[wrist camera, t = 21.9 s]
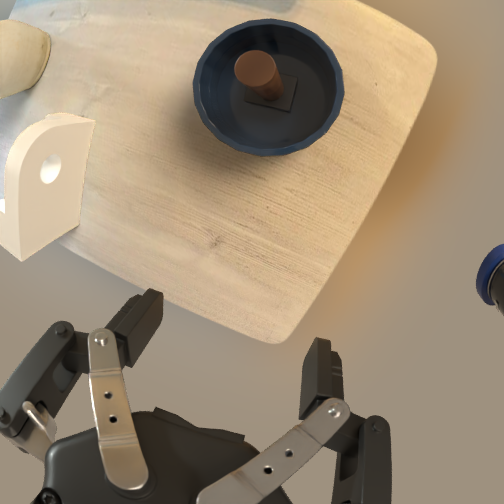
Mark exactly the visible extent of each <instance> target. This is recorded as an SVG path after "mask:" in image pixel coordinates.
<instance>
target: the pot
mask: <svg viewBox="0 0 504 504" xmlns="http://www.w3.org/2000/svg"><path fill="white" fill-rule="evenodd" d="M253 50H259V51H263V52H265V53H267V54H269V55H270V56H271V57H272V58H273V60H274V62H275V64H276V67H277V70H278V72H279V73H281V74H286V75H290V76H294V77H298V84H297V88H296V92H295V96H294V100H293V104H292V107H291V111H290V113H289V112H285V111H281V110H277V109H273V108H268V107H264V106H259V105H255V104H250V103H247V102H245V101H244V96H245V92H246V88H247V86H245V85H244V84H243V83H241V82H240V81H239V80H238V78H237V77H236V75H235V64H236V61H237V60H238V58H239V57H240V56H241V55H242V54H244V53H246V52H248V51H253ZM193 93H194V103H195V106H196V108H197V110H198V113H199V115H200V117H201V119H202V122H203V123H204V125H205V126H206V127H207V128H208V129H209V130H210V131H211V132H212V133H213V134H214V135H215V136H216V138H217V139H219V140H220V141H222V142H223V143H225V144H227V145H229V146H230V147H232V148H234V149H235V150H237V151H240V152H245V153H249V154H253V155H257V156H280V155H287V154H290V153H293V152H295V151H298V150H301V149H304V148H307V147H308V146H310V145H311V144H312V143H314V142H315V141H316V140H318V139H319V138H321V137H322V136H323V135H325V134H326V133H327V131H328V130H329V128H330V127H331V125H332V124H333V123H334V121H335V120H336V118H337V117H338V115H339V113H340V109H341V105H342V101H343V98H344V81H343V72H342V69H341V67H340V65H339V62H338V60H337V58H336V56H335V54H334V52H333V51H332V49H331V48H330V47H329V46H328V45H327V44H326V43H325V42H324V41H323V40H322V39H321V38H320V37H319V36H318V35H317V34H315V33H314V32H312V31H310V30H308V29H306V28H304V27H302V26H300V25H298V24H296V23H293V22H288V21H283V20H277V19H260V20H251V21H247V22H244V23H242V24H239V25H237V26H234V27H232V28H230V29H227V30H226V31H225V32H223V33H222V34H221V35H220V36H218V37H217V38H216V39H215V40H214V41H212V42H211V43H210V44H209V45H208V47H207V48H206V50H205V52H204V53H203V55H202V56H201V58H200V59H199V61H198V63H197V67H196V71H195V75H194V79H193Z"/></svg>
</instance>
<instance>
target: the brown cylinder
mask: <svg viewBox="0 0 504 504" xmlns="http://www.w3.org/2000/svg"><path fill="white" fill-rule="evenodd" d="M235 75H236V77H237V78H238V80H239V81H240V82H241V83H243V84H244V85H245V86H247V88H246V92H245V96H244V101H245V102H247V103H250V104H255V105H259V106H264V107H268V108H273V109H277V110H281V111H285V112H289V113H290V111H291V107H292V104H293V100H294V96H295V92H296V88H297V84H298V77H294V76H290V75H286V74H281V73H279V72H278V70H277V67H276V64H275V62H274V60H273V58H272V57H271V56H270V55H269V54H267V53H265V52H263V51H259V50H253V51H248V52H246V53H244V54H242V55H241V56H240V57H239V58H238V60H237V61H236V64H235Z"/></svg>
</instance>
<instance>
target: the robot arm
mask: <svg viewBox="0 0 504 504" xmlns="http://www.w3.org/2000/svg"><path fill="white" fill-rule="evenodd" d="M487 295H488V297H489V298H490V299H491V300H492V301H493V302H494V304H495V305H496V308H497V310H498V311H499V310H500V312H501V313H502V314H503V316H504V258H503V259H502V260H501V261H499V262H498V264H497V265H496V266H495V267H494V269H493V270H492V272H491V274H490V276H489V279H488V282H487ZM162 317H163V293H162V292H159V291H156V290H153V289H151V288H149V289H148V290H147V291H146V292H145V293H144V294H143V296H141V295H139V294H137V295H135V296H134V297H132V298H130V299H129V300H128V301H127V302H126V304H125V305H124V306H123V307H122V308H121V310H120V311H118V313H117V314H116V315H115V316H114V317H113V318H112V320H111V321H110V322H109V323H108V324H107V325H106V327H105V328H99V329H95V330H93V331H92V332H91V333H83V332H77V331H74V327H73V326H72V324H70V323H69V322H66V321H59V322H56V323H54V324H53V325H52V326H51V327H50V328H49V329H48V330H47V331H46V333H45V334H44V335H43V336H42V337H41V338H40V340H39V341H38V342H37V343H36V344H35V346H34V347H33V348H32V349H31V351H30V352H29V353H28V354H27V355H26V357H25V358H24V359H23V361H22V362H21V363H20V364H19V366H18V367H17V368H16V369H15V371H14V372H13V373H12V375H11V376H10V377H9V379H8V380H7V382H6V383H5V384H4V386H3V387H2V388H1V390H0V433H1V434H2V435H3V436H4V437H5V438H6V439H8V440H9V441H10V442H11V443H12V444H13V445H15V446H16V447H18V448H19V449H20V450H21V451H23V452H24V453H28V454H31V455H32V456H34V457H35V458H37V459H38V460H40V461H41V462H42V463H44V465H45V477H44V484H43V487H42V490H41V492H40V493H39V494H38V495H37V497H36V498H35V499H34V500H33V501H32V502H31V503H30V504H293V503H292V502H291V501H290V499H289V497H288V496H287V494H286V493H285V491H284V490H283V488H282V486H281V484H282V483H284V482H285V481H286V480H287V479H289V478H290V477H291V476H292V475H293V474H294V473H295V472H297V471H298V469H300V468H301V467H302V466H303V465H304V464H305V463H306V462H308V461H309V459H311V458H312V457H313V456H314V455H315V454H316V453H317V452H318V451H319V450H320V449H321V448H322V447H323V446H324V447H327V448H329V449H331V450H334V451H336V452H337V459H336V470H335V479H334V487H333V495H332V502H331V504H391V492H392V462H391V437H390V426H389V424H388V422H387V421H386V420H385V419H384V418H383V417H381V416H376V415H374V416H370V417H369V418H367V419H365V418H363V417H360V416H358V415H356V414H353V413H352V412H351V411H350V408H349V406H348V405H347V403H345V401H344V392H343V377H342V362H341V359H340V357H339V355H338V353H337V352H334V351H331V342H330V340H326V339H322V338H317V337H316V338H315V339H314V341H313V343H312V345H311V347H310V349H309V351H308V353H307V355H306V357H305V359H304V363H303V368H302V383H301V396H300V408H299V420H304V421H302V422H301V423H300V424H299V425H296V426H295V427H293V428H292V429H291V430H289V431H288V432H287V433H286V434H285V435H283V436H282V437H281V438H280V439H278V440H277V441H276V442H274V443H273V444H272V445H271V446H269V447H268V448H267V449H265V450H264V451H263V452H261V453H260V452H259V451H258V450H257V449H256V448H255V447H253V446H252V445H251V444H249V443H247V442H245V441H244V437H245V435H242V434H238V433H234V432H230V431H226V430H221V429H208V428H198V427H196V426H194V425H192V424H190V423H189V422H187V421H186V420H184V419H183V418H181V417H179V416H178V415H176V414H173V413H170V412H168V411H165V410H163V409H160V408H157V407H156V408H155V409H154V411H153V412H150V411H139V412H133V413H132V412H131V409H130V405H129V401H128V396H127V392H126V388H125V384H124V379H123V374H122V369H123V368H124V366H125V365H126V366H128V367H131V368H132V367H133V366H134V364H135V362H136V361H137V359H138V357H139V356H140V355H141V353H142V352H143V350H144V349H145V347H146V345H147V344H148V342H149V341H150V339H151V338H152V336H153V334H154V333H155V331H156V330H157V329H158V327H159V325H160V324H161V321H162ZM82 373H86V374H88V377H89V386H90V394H91V401H92V407H93V413H94V419H95V425H96V427H94V428H91V429H89V430H86V431H83V432H80V433H78V434H74V435H72V436H69V437H66V438H62V439H60V440H57V441H56V442H55V434H56V431H57V426H56V423H55V421H54V418H55V416H56V415H57V413H58V411H59V410H60V408H61V406H62V405H63V403H64V401H65V400H66V398H67V396H68V395H69V393H70V392H71V390H72V388H73V387H74V385H75V384H76V382H77V380H78V379H79V377H80V376H81V374H82Z"/></svg>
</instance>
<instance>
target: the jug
mask: <svg viewBox="0 0 504 504" xmlns="http://www.w3.org/2000/svg"><path fill="white" fill-rule="evenodd" d="M50 47H51V42H50V38H49V35H48V34H47V33H46V32H44V31H42V30H41V29H39V28H36V27H33V26H31V25H28V24H26V23H23V22H20V21H17V20H2V21H0V99H2V98H5V97H8V96H10V95H13V94H16V93H18V92H21V91H23V90H27V89H29V88H31V87H32V86H33V85H34V84H35V83H36V82H37V81H38V80H39V78H40V77H41V75H42V73H43V71H44V69H45V67H46V64H47V61H48V58H49V55H50Z"/></svg>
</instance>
